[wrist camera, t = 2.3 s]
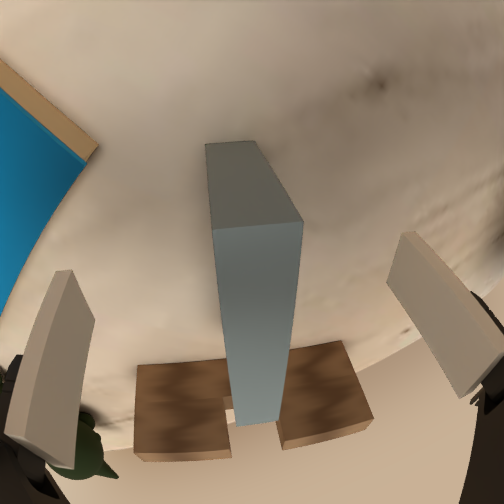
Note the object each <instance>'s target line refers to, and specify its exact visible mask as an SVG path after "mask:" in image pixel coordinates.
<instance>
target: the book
mask: <svg viewBox="0 0 504 504" xmlns="http://www.w3.org/2000/svg"><path fill="white" fill-rule="evenodd" d="M98 145H99V144H98V143H97V142H96V141H94V140H93V139H92V138H91V137H90V136H88V135H87V134H86V133H85V132H84V131H83V130H81V129H80V128H79V127H78V126H77V125H76V124H74V123H73V122H72V121H71V120H70V119H69V118H67V117H66V116H65V115H64V114H63V113H62V112H61V111H59V110H58V109H57V108H56V107H55V106H54V105H52V104H51V103H50V102H49V101H48V100H47V99H45V98H44V97H43V96H42V95H41V94H40V93H39V92H37V91H36V90H35V89H34V88H33V87H32V86H31V85H29V84H28V83H27V82H26V81H25V80H24V79H23V78H21V77H20V76H19V75H18V74H17V73H16V72H15V71H14V70H12V69H11V68H10V67H9V66H8V65H7V64H6V63H5V62H3V61H2V60H1V59H0V316H1V313H2V311H3V309H4V306H5V304H6V302H7V299H8V297H9V295H10V293H11V290H12V288H13V286H14V284H15V282H16V280H17V278H18V276H19V274H20V272H21V270H22V268H23V266H24V264H25V262H26V260H27V258H28V256H29V254H30V252H31V250H32V249H33V247H34V245H35V243H36V241H37V240H38V238H39V236H40V234H41V233H42V231H43V229H44V228H45V226H46V224H47V223H48V221H49V219H50V218H51V216H52V214H53V213H54V211H55V210H56V208H57V206H58V205H59V203H60V202H61V200H62V199H63V197H64V196H65V194H66V193H67V191H68V190H69V188H70V187H71V185H72V184H73V183H74V181H75V180H76V178H77V177H78V176H79V174H80V173H81V171H82V170H83V169H84V167H85V166H86V165H87V163H86V161H87V159H88V158H89V157H90V155H91V154H92V153H93V152H94V150H95V149H96V148H97V146H98Z"/></svg>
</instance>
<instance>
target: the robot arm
mask: <svg viewBox="0 0 504 504" xmlns="http://www.w3.org/2000/svg"><path fill="white" fill-rule="evenodd" d="M386 283H387V284H388V286H389V287H390V288H391V290H392V291H393V293H394V294H395V296H396V297H397V299H398V300H399V302H400V303H401V305H402V306H403V308H404V309H405V311H406V312H407V314H408V315H409V317H410V318H411V320H412V321H413V323H414V324H415V326H416V327H417V329H418V330H419V332H420V334H421V335H422V337H423V338H424V340H425V342H426V343H427V345H428V346H429V348H430V349H431V351H432V353H433V355H434V356H435V358H436V360H437V361H438V363H439V364H440V366H441V368H442V370H443V371H444V373H445V375H446V377H447V378H448V380H449V382H450V383H451V385H452V387H453V389H454V391H455V392H456V394H457V396H458V398H459V399H460V398H462V397H464V396H466V395H467V394H469V393H471V392H473V391H474V390H475V388H476V387H477V386H478V385H479V384H480V383H481V384H482V385H483V388H482V389H481V390H480V391H479V392H478V393H477V394H476V395H475V396H474V397H473V398H472V399H471V401H470V404H473V403H474V402H475V401H476V400H477V399H478V398H479V400H478V401H477V402H476V404H475V406H478V413H477V421H476V428H475V435H474V441H473V446H472V451H471V457H470V462H469V466H468V470H467V475H466V479H465V483H464V487H463V490H462V494H461V497H460V501H459V504H504V327H503V326H502V324H501V323H500V322H499V320H498V319H497V318H496V317H495V315H494V314H493V312H492V311H491V310H489V307H488V306H487V305H486V304H485V302H484V301H483V300H482V299H481V298H480V297H479V296H477V295H476V294H475V293H473V292H472V291H469V290H468V289H467V288H466V286H465V285H464V284H463V283H462V282H461V281H460V279H459V278H458V277H457V276H456V275H455V274H454V273H453V271H452V270H451V269H450V268H449V267H448V266H447V265H446V264H445V262H444V261H443V260H442V259H441V258H440V257H439V256H438V255H437V254H436V253H435V252H434V250H433V249H432V248H431V247H430V246H429V245H428V244H427V243H426V242H425V241H424V240H423V239H422V238H421V237H420V236H419V235H418V234H417V233H416V232H415V231H414V232H404V233H401V237H400V240H399V244H398V247H397V251H396V254H395V257H394V260H393V264H392V267H391V270H390V273H389V276H388V279H387V282H386ZM94 323H95V318H94V316H93V314H92V312H91V310H90V308H89V306H88V304H87V302H86V300H85V298H84V296H83V293H82V291H81V289H80V287H79V285H78V282H77V280H76V278H75V275H74V273H73V271H72V270H65V271H56V272H55V274H54V277H53V279H52V281H51V283H50V286H49V288H48V290H47V293H46V295H45V297H44V300H43V302H42V305H41V307H40V310H39V312H38V315H37V317H36V320H35V323H34V325H33V328H32V331H31V334H30V337H29V340H28V342H27V345H26V348H25V352H24V355H16V356H15V358H14V359H13V361H12V362H11V364H10V365H9V367H8V371H7V374H6V377H5V382H4V384H3V388H2V393H1V395H0V504H70V503H69V501H68V500H67V498H66V497H65V495H64V494H63V492H62V491H61V490H60V488H59V486H58V485H57V484H56V482H55V480H54V479H53V477H52V475H51V474H50V472H49V471H48V470H47V469H46V468H45V463H46V462H48V463H50V464H51V465H53V466H55V467H60V468H66V469H73V470H74V461H75V446H76V434H77V424H78V415H79V407H80V399H81V392H82V386H83V379H84V373H85V368H86V362H87V357H88V351H89V346H90V341H91V337H92V332H93V328H94Z"/></svg>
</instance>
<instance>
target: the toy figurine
mask: <svg viewBox="0 0 504 504" xmlns="http://www.w3.org/2000/svg"><path fill="white" fill-rule="evenodd" d="M3 384H4V383H2V376H1V374H0V395H1V393H2V388H3ZM94 427H95V421H94V419H93V417H92V416H91V415H89V414H87V413H79V415H78V424H77V434H76V446H75V461H74V470H73V469H66V468H60V467H55V466H53V465H51V464H50V463H48V462H46V463H47V464H48V465H49V466H50V467H51V468H52V469H53V470H54V471H55V472H56V473H58V474H59V475H61V476H63V477H65V478H69V479H72V480H83V479H87V478H90V477H92V476H94V475H100V476H104V477H109V478H114V479H118V478H119V476H118V475H117V474H116V473H115V472H114V471H113V470H112V469H111V468H110V466H109V465H108V464H107V463H106V462H105V461H104V459H103V458H104V452H103V447H102V443H101V436H100V435H99V434H98V433H96V432H95V431H94V430H93V429H94Z"/></svg>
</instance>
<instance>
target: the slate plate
mask: <svg viewBox="0 0 504 504" xmlns="http://www.w3.org/2000/svg"><path fill="white" fill-rule="evenodd" d="M205 149H206V164H207V177H208V190H209V202H210V213H211V225H212V235H213V246H214V255H215V265H216V274H217V284H218V293H219V301H220V310H221V318H222V326H223V334H224V342H225V350H226V357H227V365H228V372H229V379H230V386H231V393H232V400H233V407H234V414H235V420H236V426H245V425H252V424H260V423H266V422H272V421H278V420H279V414H280V408H281V402H282V396H283V389H284V383H285V376H286V369H287V362H288V355H289V348H290V341H291V333H292V326H293V318H294V310H295V301H296V293H297V284H298V275H299V266H300V256H301V246H302V235H303V224H304V221H303V219H302V218H301V216H300V214H299V213H298V211H297V209H296V207H295V206H294V204H293V202H292V201H291V199H290V197H289V196H288V194H287V192H286V191H285V189H284V187H283V186H282V184H281V183H280V181H279V179H278V178H277V176H276V174H275V173H274V171H273V170H272V168H271V166H270V165H269V163H268V162H267V160H266V158H265V157H264V155H263V154H262V152H261V150H260V149H259V147H258V146H257V144H256V143H255V141H242V142H226V143H214V144H205Z"/></svg>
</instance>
